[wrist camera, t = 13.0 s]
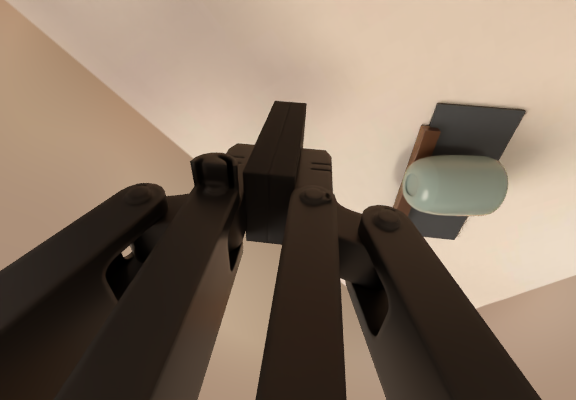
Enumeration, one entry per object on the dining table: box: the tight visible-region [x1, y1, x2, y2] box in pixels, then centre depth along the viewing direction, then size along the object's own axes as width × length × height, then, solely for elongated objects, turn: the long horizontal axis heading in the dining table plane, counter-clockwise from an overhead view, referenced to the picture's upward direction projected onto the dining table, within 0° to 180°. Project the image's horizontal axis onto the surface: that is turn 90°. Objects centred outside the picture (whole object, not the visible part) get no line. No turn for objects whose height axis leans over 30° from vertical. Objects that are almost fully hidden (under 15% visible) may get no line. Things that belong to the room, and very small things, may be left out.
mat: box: [408, 103, 526, 240], centre depth 42 cm, size 10×22×1 cm, turn 177°
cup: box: [402, 155, 508, 216], centre depth 36 cm, size 8×8×10 cm
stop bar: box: [393, 125, 441, 216], centre depth 41 cm, size 2×16×2 cm, turn 177°
